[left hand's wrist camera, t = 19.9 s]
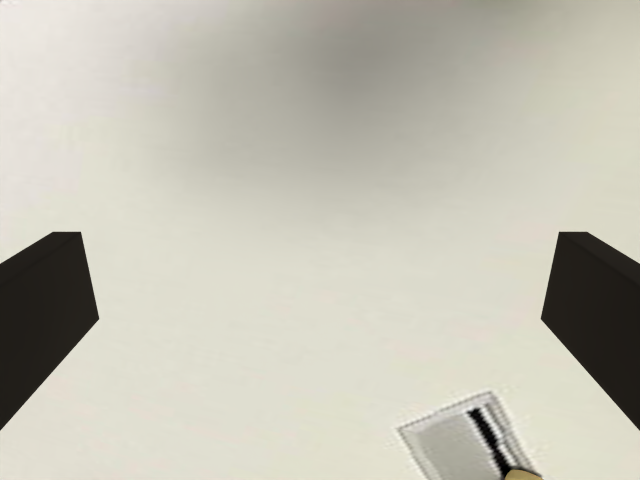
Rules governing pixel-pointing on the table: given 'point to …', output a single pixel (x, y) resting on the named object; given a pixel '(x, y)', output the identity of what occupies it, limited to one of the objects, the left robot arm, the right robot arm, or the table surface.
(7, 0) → the table surface
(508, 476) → the toy gun
